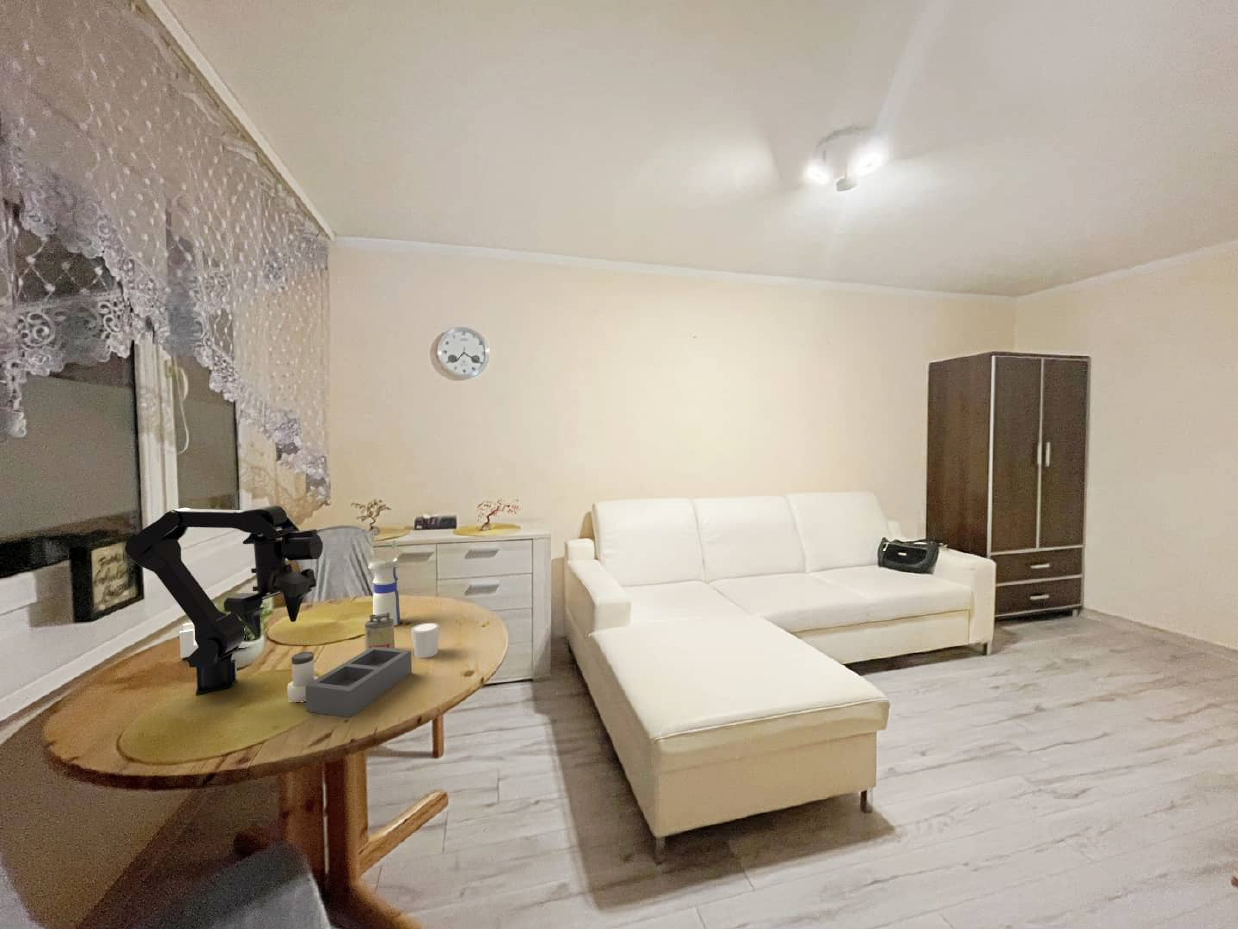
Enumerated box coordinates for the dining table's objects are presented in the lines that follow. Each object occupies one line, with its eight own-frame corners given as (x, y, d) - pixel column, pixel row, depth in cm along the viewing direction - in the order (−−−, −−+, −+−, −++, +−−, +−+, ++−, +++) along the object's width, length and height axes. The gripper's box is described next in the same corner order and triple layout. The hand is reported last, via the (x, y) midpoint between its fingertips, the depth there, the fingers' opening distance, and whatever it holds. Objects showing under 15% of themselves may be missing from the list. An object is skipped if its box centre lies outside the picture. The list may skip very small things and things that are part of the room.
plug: (287, 706, 105) (285, 664, 105) (288, 693, 110) (286, 654, 110) (320, 698, 108) (319, 657, 108) (320, 686, 113) (318, 647, 113)
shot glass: (433, 645, 135) (432, 620, 135) (444, 653, 131) (444, 627, 130) (407, 653, 131) (406, 627, 130) (418, 661, 126) (417, 634, 125)
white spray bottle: (376, 619, 156) (373, 539, 154) (405, 617, 157) (402, 538, 155) (366, 629, 147) (363, 545, 146) (396, 627, 148) (393, 544, 147)
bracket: (180, 661, 127) (179, 632, 127) (185, 652, 133) (183, 624, 133) (244, 649, 134) (243, 621, 134) (246, 640, 140) (244, 614, 140)
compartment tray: (350, 717, 101) (349, 691, 100) (306, 711, 103) (305, 685, 103) (411, 672, 120) (411, 650, 119) (373, 668, 122) (372, 646, 122)
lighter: (364, 656, 129) (363, 618, 128) (365, 650, 133) (364, 613, 132) (394, 651, 132) (393, 614, 131) (395, 646, 135) (394, 610, 135)
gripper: (262, 574, 103) (268, 648, 104) (332, 552, 121) (337, 616, 122) (219, 572, 105) (225, 645, 106) (294, 552, 123) (299, 614, 124)
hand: (276, 629), depth 115 cm, fingers open, 9 cm apart
